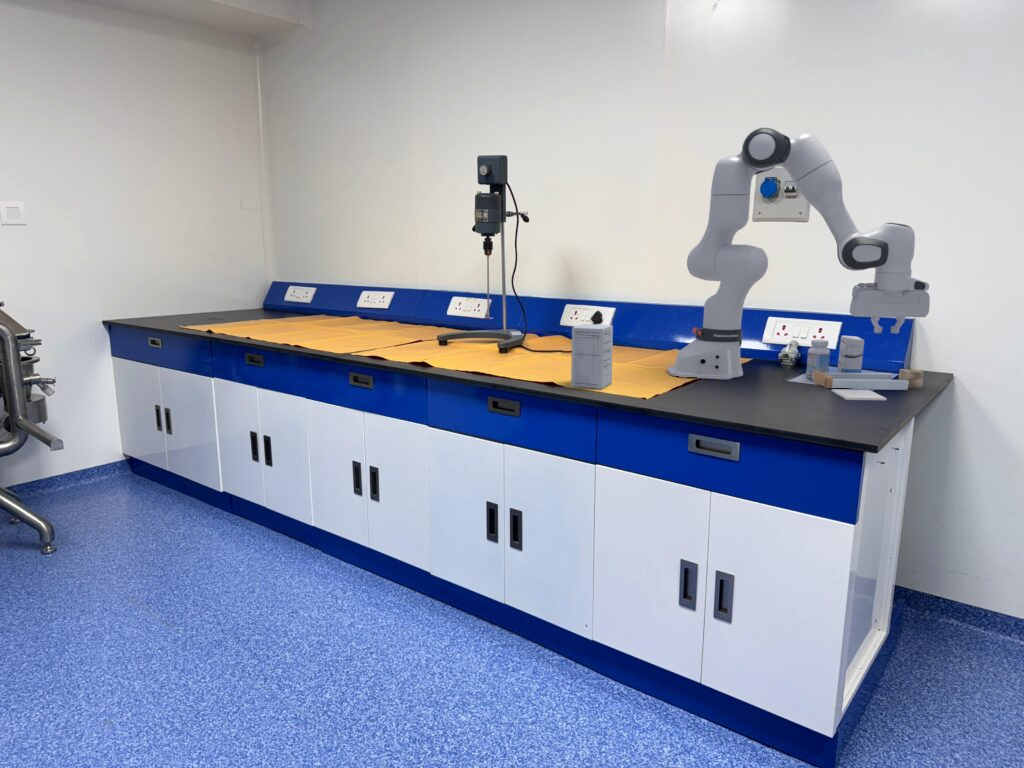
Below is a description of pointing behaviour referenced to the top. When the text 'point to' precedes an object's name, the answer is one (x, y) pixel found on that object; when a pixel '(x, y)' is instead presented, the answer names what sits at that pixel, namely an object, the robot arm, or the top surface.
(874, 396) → the tile
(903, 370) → the cube
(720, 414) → the top surface
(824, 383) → the channel
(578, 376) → the supplement box
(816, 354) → the pill bottle
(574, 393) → the top surface
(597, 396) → the top surface
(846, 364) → the ink box
